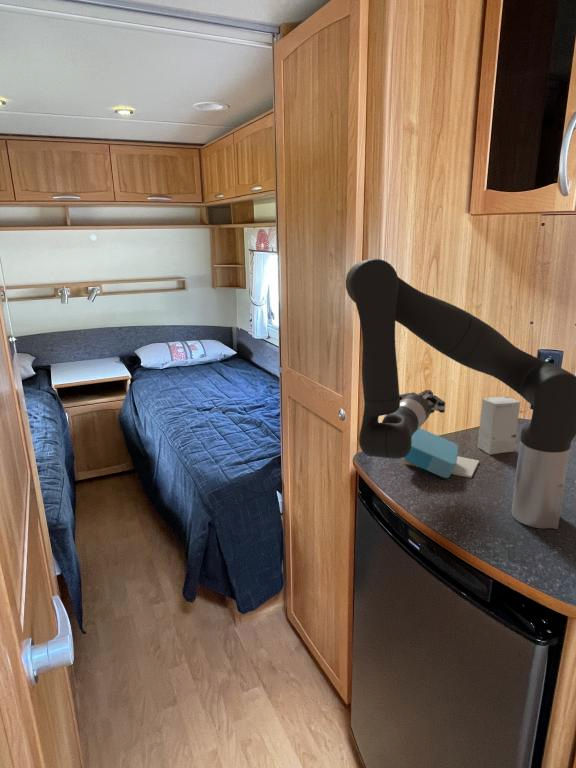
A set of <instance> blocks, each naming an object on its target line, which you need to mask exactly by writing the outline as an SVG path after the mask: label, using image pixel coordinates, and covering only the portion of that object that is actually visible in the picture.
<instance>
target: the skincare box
mask: <svg viewBox="0 0 576 768" xmlns="http://www.w3.org/2000/svg"><path fill="white" fill-rule="evenodd" d="M520 406H521V401H519V400H517V399H514V398H511V397H509V396H495V397H494V396H493V397H486V398H485V397H484V398H482V401H481V410H480V419H479V428H478V430H479V431H478V439H477V448H478V449H480V450H482V451H483V452H484V453H486V454H487V455H490V456H491V455H492V456H493V455H497V454H502V453H512V452H515V448H516V447H515V445H516V438H517V431H518V430H517V429H518V422H519V414H520Z"/></svg>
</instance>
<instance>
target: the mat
mask: <svg viewBox="0 0 576 768" xmlns="http://www.w3.org/2000/svg"><path fill="white" fill-rule="evenodd" d="M479 463H480V460H478V459H472V458H467V457H463V456H459V455H457V462H456V465H455V467H454V469H453V471H452V473H451V475H455V476H460V477H465V478H469V479H472V477H473V475H474V473H475V471H476V469H477V467H478V465H479ZM416 467H417V468H420V467H419V466H416Z"/></svg>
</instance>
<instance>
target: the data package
mask: <svg viewBox="0 0 576 768" xmlns="http://www.w3.org/2000/svg"><path fill="white" fill-rule="evenodd" d="M457 456H459V445H458V444H456V442H454V441H450V440H448V439H446V438H444V437H442V436H439V435H437V434H436V433H432V432H430V431H427V430H425V429H423V428H422V427H420V428H419V429H418V430H417V431H416V432H415V433H414V434H413V435H412V445H411V450H410V452H409V454H408V455H407V456H405V457H403V458H404V461H405V460H406V461H408V462H410V463H412V464H414V465H416V466H415V467H417V466H419V467H418V468H421V469H424V470H426V471H428V472H430V473H432V474H435V475H437V476H439V477H441V478H444V479H449V478H450V477H451V476H452V474H451V473H452V471H453V469H454V467H455V465H456V462H457Z"/></svg>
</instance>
